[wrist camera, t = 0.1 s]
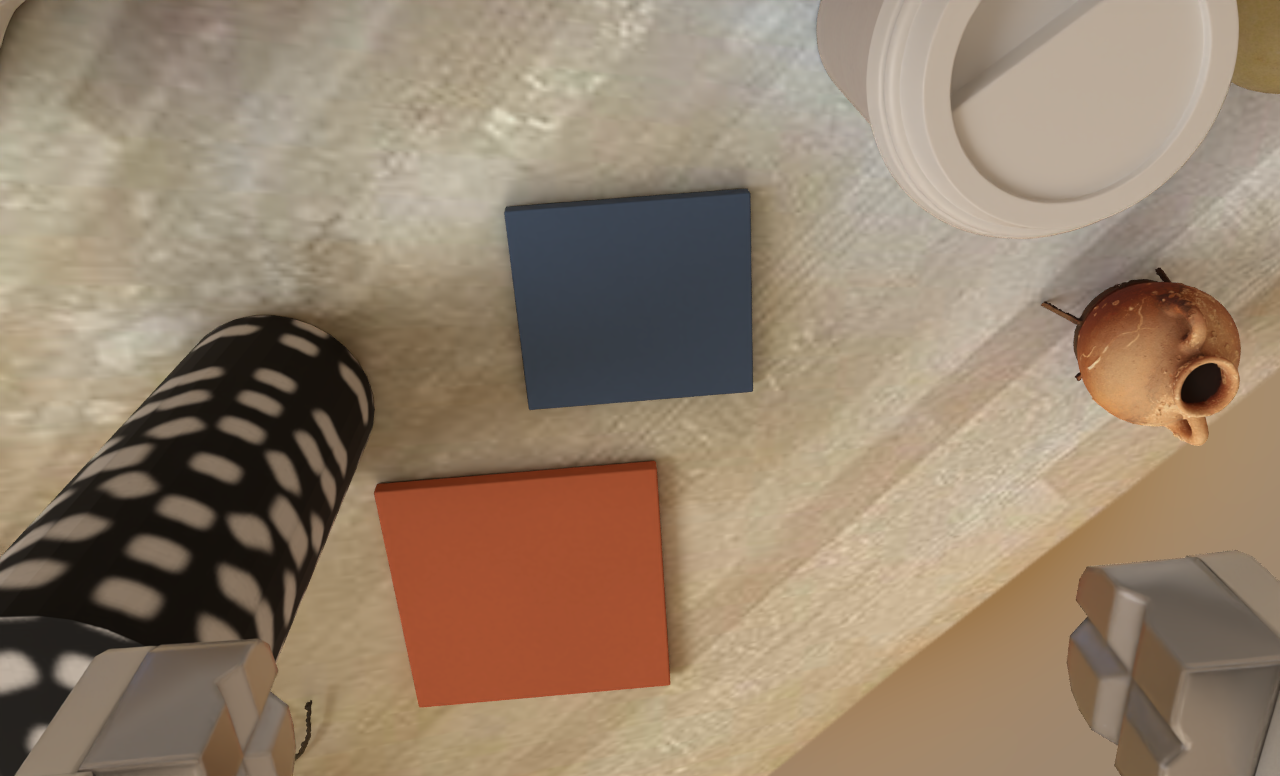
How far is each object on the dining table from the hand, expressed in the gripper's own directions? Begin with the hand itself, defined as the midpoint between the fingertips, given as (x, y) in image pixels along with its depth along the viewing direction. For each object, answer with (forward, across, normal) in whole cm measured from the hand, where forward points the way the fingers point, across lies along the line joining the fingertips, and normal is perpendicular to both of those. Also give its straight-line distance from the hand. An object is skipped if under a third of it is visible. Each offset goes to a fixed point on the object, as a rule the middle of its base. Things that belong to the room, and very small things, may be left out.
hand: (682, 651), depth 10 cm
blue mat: (+32, -1, +8) cm, 33 cm away
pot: (+32, -22, +10) cm, 40 cm away
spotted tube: (+32, +15, +11) cm, 37 cm away
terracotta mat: (+32, +5, +22) cm, 39 cm away
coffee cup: (+32, -12, -3) cm, 34 cm away
